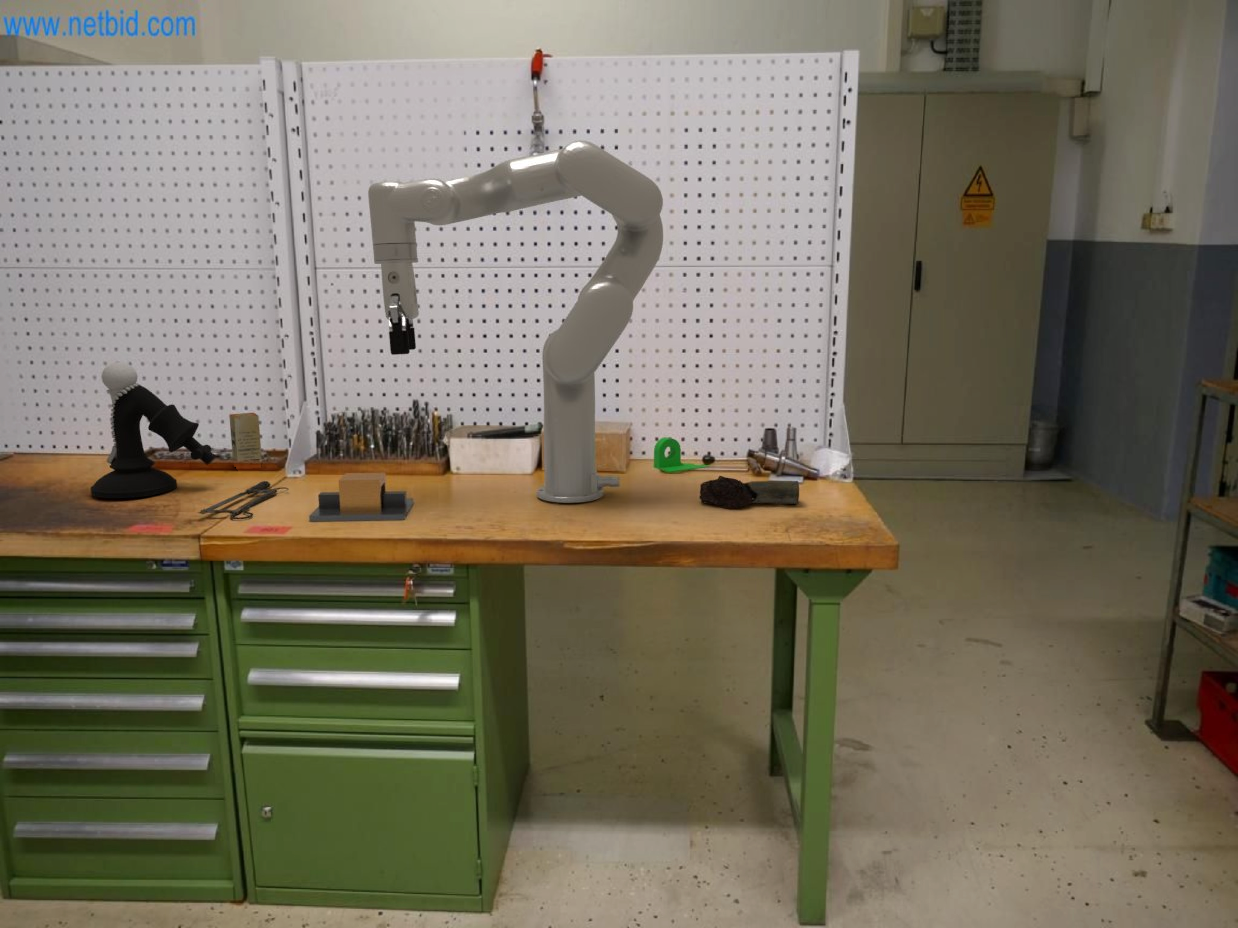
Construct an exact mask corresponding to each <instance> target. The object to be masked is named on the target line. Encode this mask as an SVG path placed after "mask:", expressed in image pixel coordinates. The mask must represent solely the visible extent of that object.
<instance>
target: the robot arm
mask: <svg viewBox="0 0 1238 928" xmlns="http://www.w3.org/2000/svg"><path fill="white" fill-rule="evenodd" d="M367 191H368V193H367V194H368V206H369V218H370V229H371V240H372V250H373V251H372V253H373V261H374V262H373V263H374V265H380V270H381V285H382V295H383V305H384V307H383V308H384V313H385V317H386V319H387V320H388V329H389V331H388V338H389V339H388V340H389V349H390V354H391V355H393V356H394V355H395V356H396V355H398V356H399V355H409V354H410V351H411V350H412V351H413V350H415V349H417V348H416V347H417V346H416V334H415V333H416V332H415V327H414V321H413V320H414V319H417V318H418V317H419V313H420V312H419V304H418V293H417V288H416V287H417V286H416V277H415V271H414V266H413V263H418V250H417V237H416V225H415V222H418V223H419V222H420V223H426V224H427V223H428V224H431V225H433V226H446V225H451V224H455V223H460V222H464V221H470V220H474V219H478V218H482V217H488V216H490V215H496V214H501V213H512V212H513V211H519V210H522V209H526V208H531V207H535V206H540V205H543V204H549V203H553V202H557V201H558V202H559V201H564V200H567V199H572V198H577V197H581V196H582V197H583V198H584V199H586V200H587V201H589V202H591V203H592V204H594V205H596V206H597V207H598V208H601V209H602V210H604V211H605V212H607V213H609V214H610V215H612V218H613V219H614V221H615V223H616V227H617V234H616V238H615V241H614V243H613V245H612V246H611V248H610V250H609V251H608V253H607V254H606V256H605V258H604V259H603V261H602V263H601V264H600V265H599V267H598V268H597V269H596V271H595V273H594V274H593V275H592V277H590V280H589V281H588V282H587V283H586V284H585V285H584V286H583V288H581V290H580V292H579V294H578V296H577V301H576V302H575V304H574V305H573V307H572V308H571V310H569V313H568V314H567V316H566V317H565V319H564V320H563V322H562V324H560V326H559V328H557V329H556V330H554V331H552V333H551V334H549V335H548V337H547V339H546V340H545V342H544V344H543V346H542V347H543V348H542V354H541V355H542V358H541V359H542V378H543V434H544V435H543V441H544V442H543V443H544V444H543V446H544V447H543V448H544V449H543V450H544V451H543V452H544V454H543V455H544V457H543V459H544V485H543V486H540V487H539V488H537V490H536V496H537V498H538V499H540V500H541V501H546V502H552V503H561V504H562V503H563V504H565V503H566V504H577V503H586V502H591V501H595V500H598V499H601V498H603V496H604V489H603V488H604V487H605V488H606V487H609V488H620V484H621V483H620V479H621V478H620V476H613V475H600V474H598V471H597V469H596V383H595V381H596V380H595V373H596V371H597V370H598V369H599V367H600V366H601V365H602V362H603V361H604V360H605V358H606V357H607V355H608V354H609V352H611V349H613V347H614V345H615V344H616V342H617V341H618V339H619V338H620V337H621V335H622V333H624V331H625V329H626V328H627V326H628V324H629V322H630V320H631V318H632V315H633V311H634V301H635V299H636V297H637V296H638V294H639V293H640V291H641V289H642V288H643V287H644V285H645V283H646V282H647V280H648V278H649V277H650V276H651V274H652V272H653V270H654V268H655V267H656V265H657V263H658V261H659V260H660V259H659V258H660V256H661V254H662V251H663V250H662V249H663V245H664V226H663V222H662V218H661V213H662V210H663V206H664V203H663V202H664V198H663V195H662V194H663V193H662V191H661V189H660V188H659V186H658V185H657V184H656V182H655V181H654V180H653V179H651V178H650V177H648V176H647V175H645V174H643V173H642V172H641V171H638V170H637V169H635V168H633V167H631V166H630V165H629V164H627V163H625V162H624V161H622V160H620V159H619V158H617V157H615V156H614V155H612V154H611V153H609V152H608V151H606V150H604V148H602V147H600V146H598V145H596V144H594V143H592V142H590V141H588V140H574V141H572V142H570V143H568V144H566V145H565V146H564V147H563V148H560V149H559V148H558V149H554V150H550V151H549V150H548V151H545V152H541V153H537V154H531V155H528V156H527V155H526V156H521V157H517V158H516V157H515V158H512V159H508V160H505V161H503V162H500V163H499V164H497V165H495V166H494V167H492V168H490V169H487V170H486V171H484V172H480V173H478V174H474V175H471V176H466V177H461V178H457V179H453V180H448V181H443V180H442V179H438V178H426V179H420V180H419V179H418V180H414V181H407V182H403V181H381V182H375V183H373V184H371V185H370V186H369V187H368V190H367Z"/></svg>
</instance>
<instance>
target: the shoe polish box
mask: <svg viewBox="0 0 1238 928" xmlns="http://www.w3.org/2000/svg"><path fill="white" fill-rule="evenodd" d="M259 417H260V416H259V414H256V413H255V412H246V413H245V412H243V413H242V412H241V413H231V414H230V413H229V416H228V418H229V427H230V441H231V442H230V443H231V453H232V458H233V457H234V458H235V459H236V460H237V461H244V460H250V459H263V458H262V447H261V432H260V431H261V430H260V418H259Z"/></svg>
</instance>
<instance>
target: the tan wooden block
mask: <svg viewBox="0 0 1238 928" xmlns="http://www.w3.org/2000/svg"><path fill="white" fill-rule="evenodd" d="M386 480H387V478H386V472H347V473H346V472H345V474H343V476H341V477H340V479H338V492H339V496H340V511H379V510H382V500H381V491H387V481H386Z"/></svg>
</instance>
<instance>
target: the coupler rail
mask: <svg viewBox="0 0 1238 928" xmlns="http://www.w3.org/2000/svg"><path fill="white" fill-rule="evenodd" d="M317 496H318V506H317V507H316V509H314V511H312V512H311V513H310V514H309V516H308V517H309V518H308V519H309V522H352V521H354V522H355V521H356V522H358V521H359V522H361V521H362V522H363V521H364V522H365V521H369V522H370V521H404V520H405V519H406V518H407V516H408V514H409V513H410V511H411V509H412V507H413V506H414V504H415V503H414V502H415V501H414V500H415V499H414V498H412V497H410V498H409V497H407V491H406V490H405V491H402V490H401V491H400V490H399V491H398V490H397V491H396V490H395V491H392V490H391V491H387V490H386V491H381V500H382V510H379V511H340V496H339V491H324V492H323V491H321V492H320V493H319V494H318V495H317Z"/></svg>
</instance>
